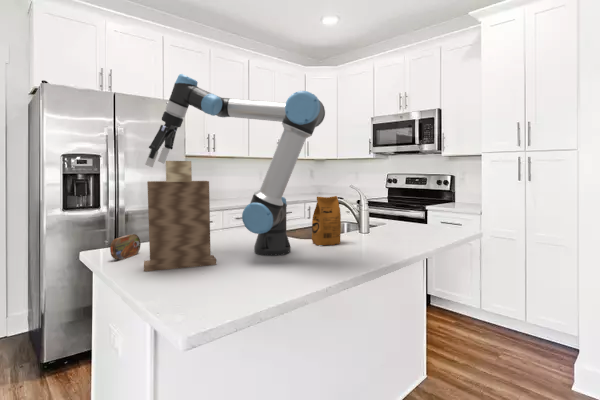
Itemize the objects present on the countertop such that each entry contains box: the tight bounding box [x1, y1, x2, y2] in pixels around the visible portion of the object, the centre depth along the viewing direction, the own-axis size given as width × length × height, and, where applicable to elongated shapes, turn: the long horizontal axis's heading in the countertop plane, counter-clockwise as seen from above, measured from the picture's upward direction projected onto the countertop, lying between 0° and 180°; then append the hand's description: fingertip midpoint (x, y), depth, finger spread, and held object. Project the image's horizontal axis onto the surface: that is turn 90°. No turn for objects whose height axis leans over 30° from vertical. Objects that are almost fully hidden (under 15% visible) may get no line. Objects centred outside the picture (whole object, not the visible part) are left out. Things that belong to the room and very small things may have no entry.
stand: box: [143, 180, 217, 272], centre depth 129 cm, size 24×7×30 cm, turn 112°
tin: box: [109, 233, 141, 261], centre depth 142 cm, size 15×3×8 cm, turn 168°
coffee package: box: [311, 195, 342, 246], centre depth 168 cm, size 10×12×22 cm
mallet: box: [165, 160, 193, 182], centre depth 133 cm, size 8×21×7 cm, turn 22°
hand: (155, 164), depth 146 cm, fingers open, 13 cm apart
